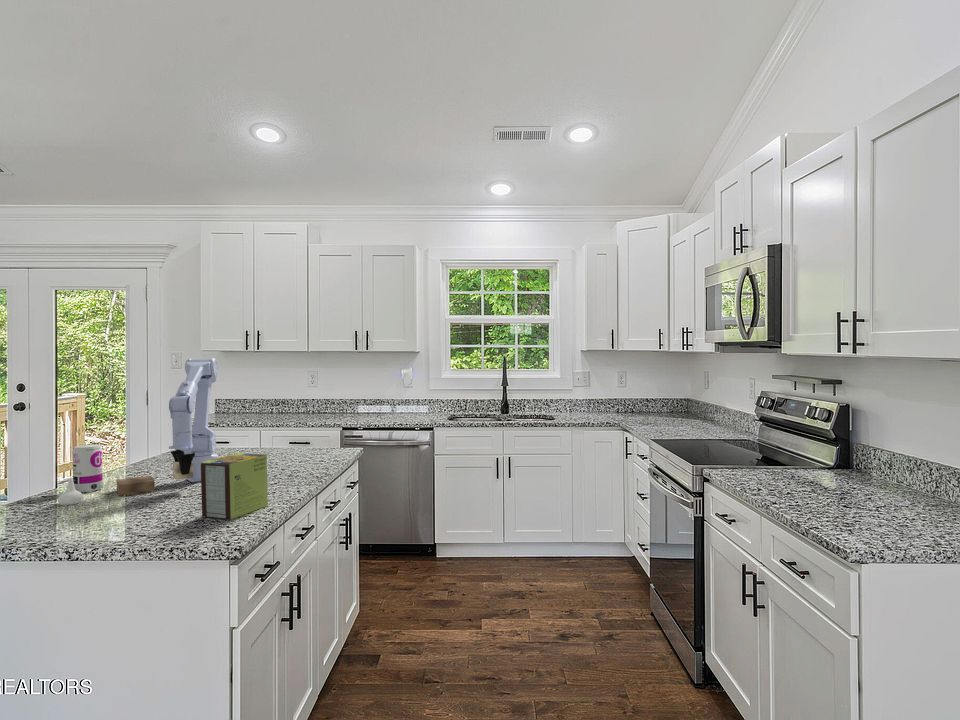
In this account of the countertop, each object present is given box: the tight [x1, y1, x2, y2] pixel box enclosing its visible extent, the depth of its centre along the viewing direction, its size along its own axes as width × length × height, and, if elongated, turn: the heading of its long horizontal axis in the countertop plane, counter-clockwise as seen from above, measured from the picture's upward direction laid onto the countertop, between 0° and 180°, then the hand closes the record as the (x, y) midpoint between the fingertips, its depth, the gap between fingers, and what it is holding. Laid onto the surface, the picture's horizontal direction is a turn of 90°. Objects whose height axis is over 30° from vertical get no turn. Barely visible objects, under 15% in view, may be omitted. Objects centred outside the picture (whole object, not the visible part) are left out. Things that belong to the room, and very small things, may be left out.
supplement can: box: [72, 443, 104, 493], centre depth 193 cm, size 8×8×15 cm
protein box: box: [200, 452, 269, 521], centre depth 165 cm, size 10×15×16 cm
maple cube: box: [172, 461, 193, 481], centre depth 189 cm, size 5×5×5 cm
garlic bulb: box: [57, 477, 84, 506], centre depth 177 cm, size 6×6×8 cm
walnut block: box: [115, 475, 156, 497], centre depth 191 cm, size 10×10×4 cm
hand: (183, 472), depth 189 cm, fingers closed on maple cube, 5 cm apart
